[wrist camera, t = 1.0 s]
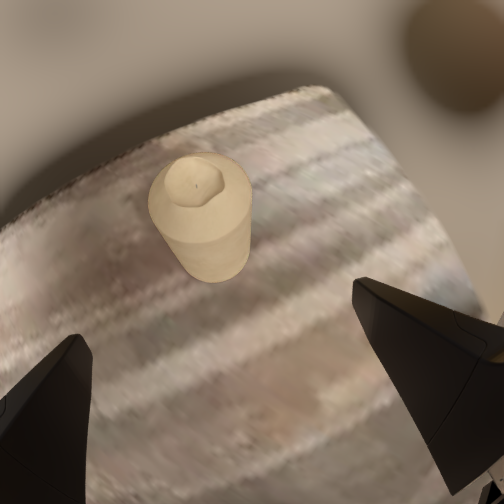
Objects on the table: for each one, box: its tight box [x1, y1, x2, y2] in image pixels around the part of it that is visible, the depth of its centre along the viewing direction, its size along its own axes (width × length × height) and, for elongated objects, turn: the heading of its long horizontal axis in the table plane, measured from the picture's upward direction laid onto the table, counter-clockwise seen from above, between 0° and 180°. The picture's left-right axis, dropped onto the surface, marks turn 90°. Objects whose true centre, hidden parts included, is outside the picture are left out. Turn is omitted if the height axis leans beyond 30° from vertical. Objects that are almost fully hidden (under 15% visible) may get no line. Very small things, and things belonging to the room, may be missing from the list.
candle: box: [148, 152, 252, 283], centre depth 19 cm, size 6×6×10 cm
